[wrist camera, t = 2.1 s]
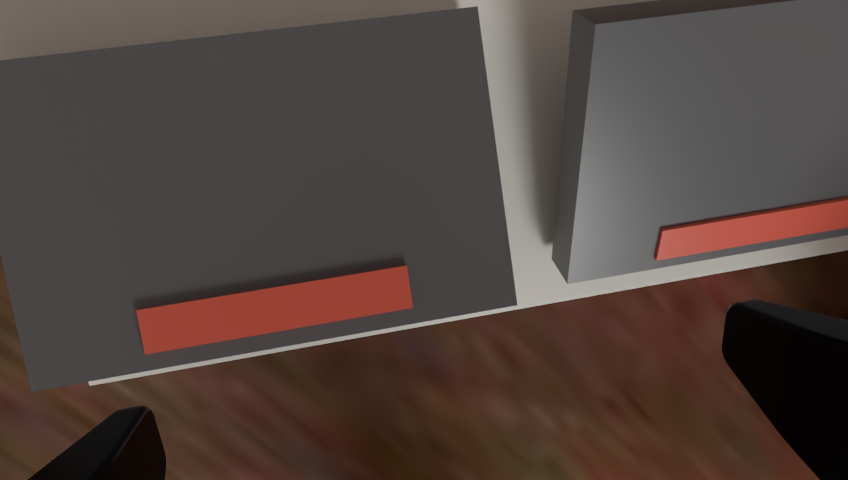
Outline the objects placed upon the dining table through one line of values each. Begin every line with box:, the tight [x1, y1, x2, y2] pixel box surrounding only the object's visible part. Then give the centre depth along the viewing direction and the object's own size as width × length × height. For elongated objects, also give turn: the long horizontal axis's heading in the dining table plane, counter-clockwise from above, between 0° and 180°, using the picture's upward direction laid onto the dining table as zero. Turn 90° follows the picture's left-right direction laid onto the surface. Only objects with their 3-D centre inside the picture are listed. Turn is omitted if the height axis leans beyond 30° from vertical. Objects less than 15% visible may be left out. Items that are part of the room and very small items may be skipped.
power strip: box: [0, 0, 848, 386], centre depth 17 cm, size 25×10×4 cm, turn 96°
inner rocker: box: [552, 0, 848, 284], centre depth 15 cm, size 11×7×1 cm, turn 96°
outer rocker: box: [0, 6, 517, 392], centre depth 13 cm, size 11×7×1 cm, turn 96°
